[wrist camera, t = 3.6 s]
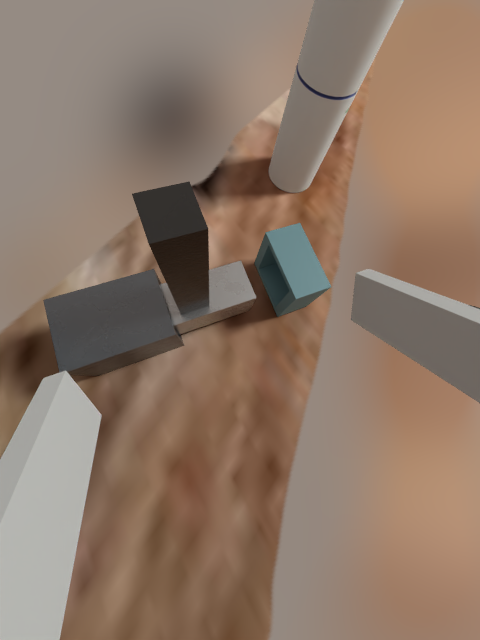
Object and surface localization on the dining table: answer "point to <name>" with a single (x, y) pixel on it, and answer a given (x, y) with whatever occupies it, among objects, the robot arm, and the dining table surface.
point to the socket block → (290, 269)
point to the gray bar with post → (190, 260)
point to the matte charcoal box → (111, 325)
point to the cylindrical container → (326, 83)
